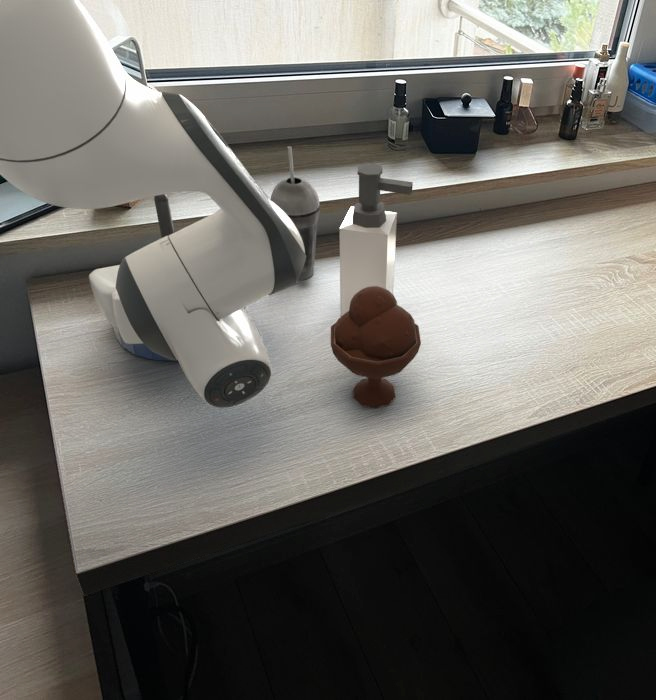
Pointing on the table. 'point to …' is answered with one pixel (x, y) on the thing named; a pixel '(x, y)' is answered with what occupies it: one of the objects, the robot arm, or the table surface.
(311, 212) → the beverage cup
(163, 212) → the peg stand
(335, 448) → the table surface
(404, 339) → the ice cream bowl
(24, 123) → the robot arm
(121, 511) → the table surface
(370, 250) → the soap dispenser
